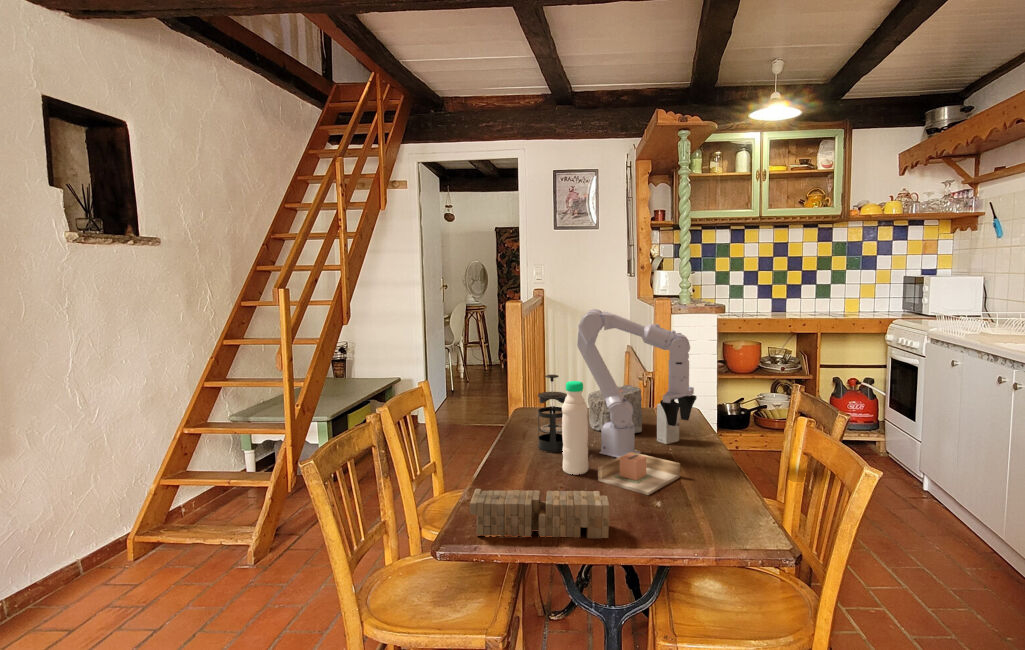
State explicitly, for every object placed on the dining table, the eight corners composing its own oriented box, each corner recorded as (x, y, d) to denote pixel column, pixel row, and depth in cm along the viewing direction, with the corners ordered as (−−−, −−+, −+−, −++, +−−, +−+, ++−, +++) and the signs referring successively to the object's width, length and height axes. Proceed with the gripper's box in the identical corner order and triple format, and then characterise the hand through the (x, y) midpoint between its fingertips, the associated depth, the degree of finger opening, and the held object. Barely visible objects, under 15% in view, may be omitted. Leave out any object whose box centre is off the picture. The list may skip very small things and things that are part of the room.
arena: (598, 480, 158) (597, 466, 157) (631, 464, 169) (631, 451, 169) (648, 495, 148) (648, 480, 147) (679, 477, 159) (680, 463, 159)
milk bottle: (591, 468, 167) (590, 380, 164) (583, 477, 161) (582, 385, 158) (567, 465, 170) (566, 378, 167) (559, 473, 164) (557, 383, 161)
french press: (568, 453, 180) (567, 378, 178) (537, 453, 181) (536, 378, 178) (567, 441, 192) (566, 370, 189) (538, 441, 193) (536, 371, 190)
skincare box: (666, 444, 186) (666, 406, 185) (655, 441, 190) (656, 403, 189) (680, 441, 190) (680, 403, 189) (669, 437, 194) (669, 401, 192)
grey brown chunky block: (581, 423, 212) (580, 382, 211) (625, 418, 217) (625, 378, 216) (605, 438, 194) (604, 393, 193) (652, 432, 200) (652, 388, 198)
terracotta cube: (636, 480, 154) (636, 461, 154) (619, 476, 158) (619, 457, 157) (646, 475, 158) (646, 456, 157) (630, 470, 161) (630, 452, 161)
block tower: (605, 527, 133) (475, 521, 135) (606, 491, 132) (475, 485, 134) (608, 544, 125) (469, 537, 128) (609, 505, 124) (469, 499, 127)
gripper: (679, 382, 164) (678, 430, 165) (703, 373, 174) (703, 419, 176) (656, 379, 169) (656, 426, 170) (681, 371, 179) (681, 415, 181)
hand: (678, 422), depth 173 cm, fingers open, 7 cm apart
